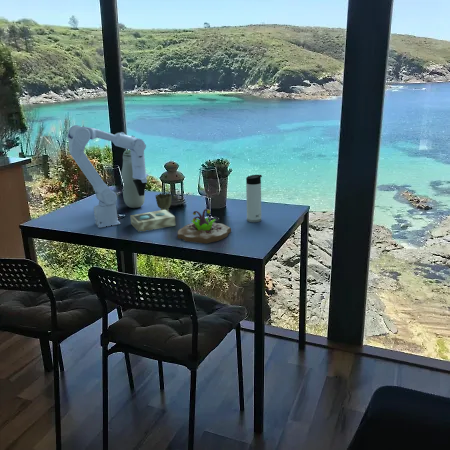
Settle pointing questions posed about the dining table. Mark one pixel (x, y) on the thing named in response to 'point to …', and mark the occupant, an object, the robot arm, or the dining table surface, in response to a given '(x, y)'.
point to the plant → (203, 230)
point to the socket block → (153, 220)
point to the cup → (163, 201)
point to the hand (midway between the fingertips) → (141, 195)
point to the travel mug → (253, 198)
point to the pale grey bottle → (130, 183)
